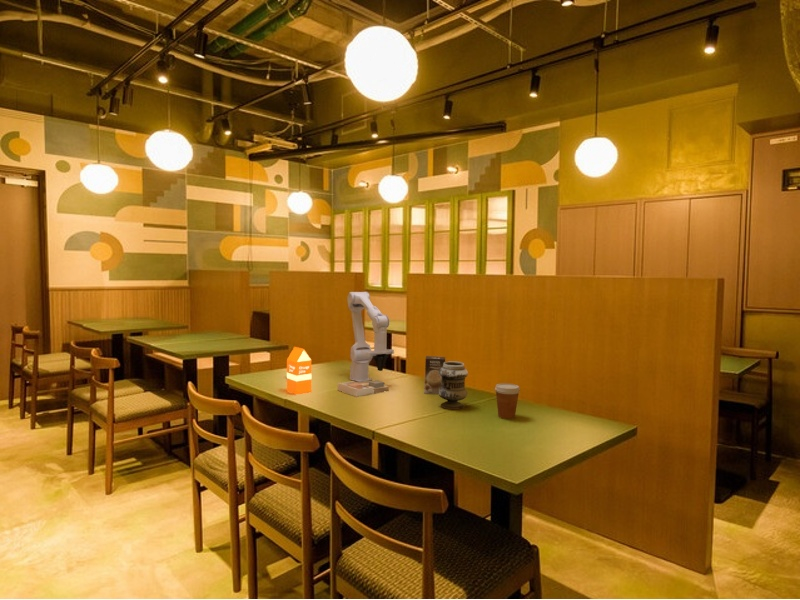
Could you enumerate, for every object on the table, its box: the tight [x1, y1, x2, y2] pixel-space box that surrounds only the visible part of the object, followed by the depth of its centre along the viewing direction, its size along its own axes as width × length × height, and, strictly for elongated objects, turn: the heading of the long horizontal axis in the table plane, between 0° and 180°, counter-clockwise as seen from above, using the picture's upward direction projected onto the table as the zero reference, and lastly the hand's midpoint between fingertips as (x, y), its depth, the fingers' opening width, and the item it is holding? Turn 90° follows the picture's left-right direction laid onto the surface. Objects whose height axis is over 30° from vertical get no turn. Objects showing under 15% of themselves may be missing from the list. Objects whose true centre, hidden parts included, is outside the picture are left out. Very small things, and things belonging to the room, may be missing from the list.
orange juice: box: [286, 346, 313, 395], centre depth 231 cm, size 8×9×20 cm
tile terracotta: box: [347, 382, 362, 390], centre depth 236 cm, size 5×5×2 cm
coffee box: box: [423, 355, 446, 395], centre depth 234 cm, size 9×6×16 cm
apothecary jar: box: [437, 360, 469, 410], centre depth 211 cm, size 12×12×18 cm
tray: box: [337, 380, 375, 398], centre depth 233 cm, size 15×10×4 cm, turn 40°
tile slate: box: [369, 379, 385, 388], centre depth 236 cm, size 5×5×2 cm
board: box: [357, 380, 390, 394], centre depth 238 cm, size 15×8×2 cm, turn 40°
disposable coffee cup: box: [494, 382, 521, 420], centre depth 198 cm, size 10×10×12 cm
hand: (380, 370), depth 239 cm, fingers closed
